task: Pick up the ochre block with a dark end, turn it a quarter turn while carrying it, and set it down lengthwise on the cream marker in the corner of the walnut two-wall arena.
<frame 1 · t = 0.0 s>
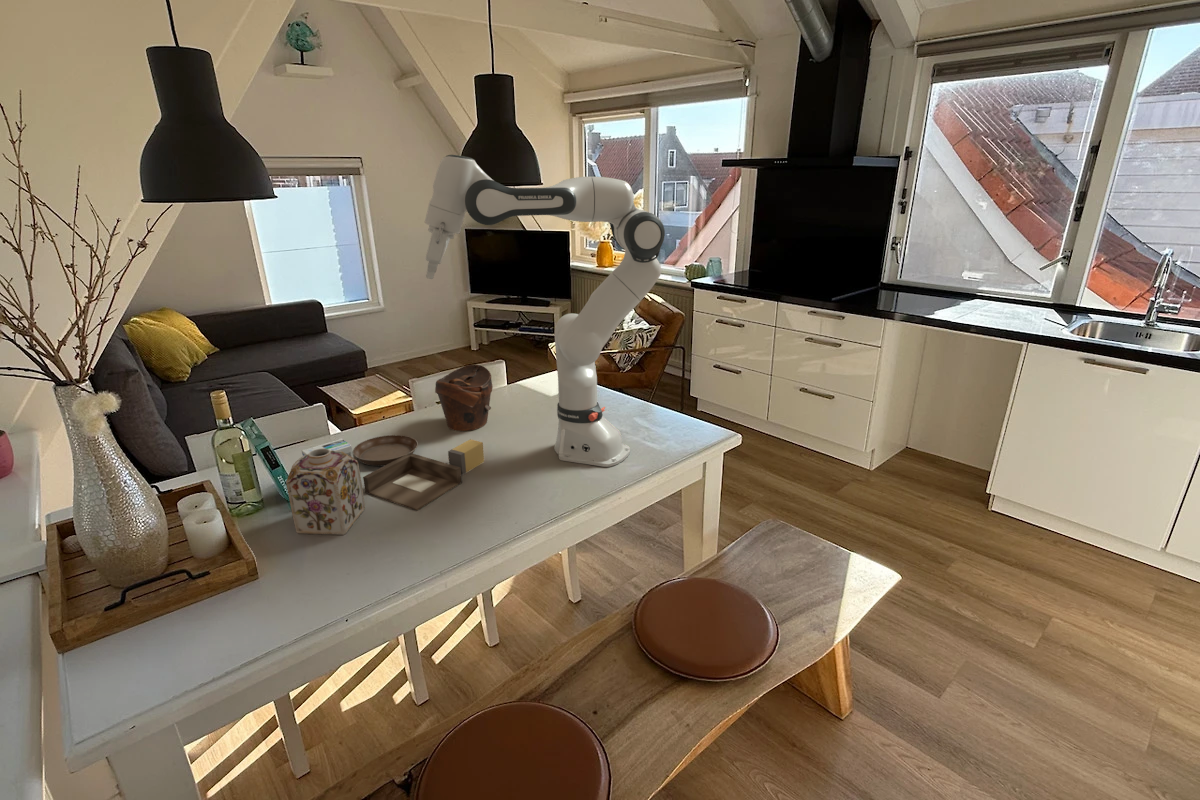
hand: (430, 275, 153), 52 cm above the table, tool tilted 20°, fingers open, 8 cm apart
light bulb box: (333, 485, 158), on the table
ochre block: (467, 466, 167), on the table
corner arena: (414, 487, 156), on the table
decorative jar: (332, 522, 141), on the table
plant saucer: (387, 456, 174), on the table
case: (467, 424, 195), on the table
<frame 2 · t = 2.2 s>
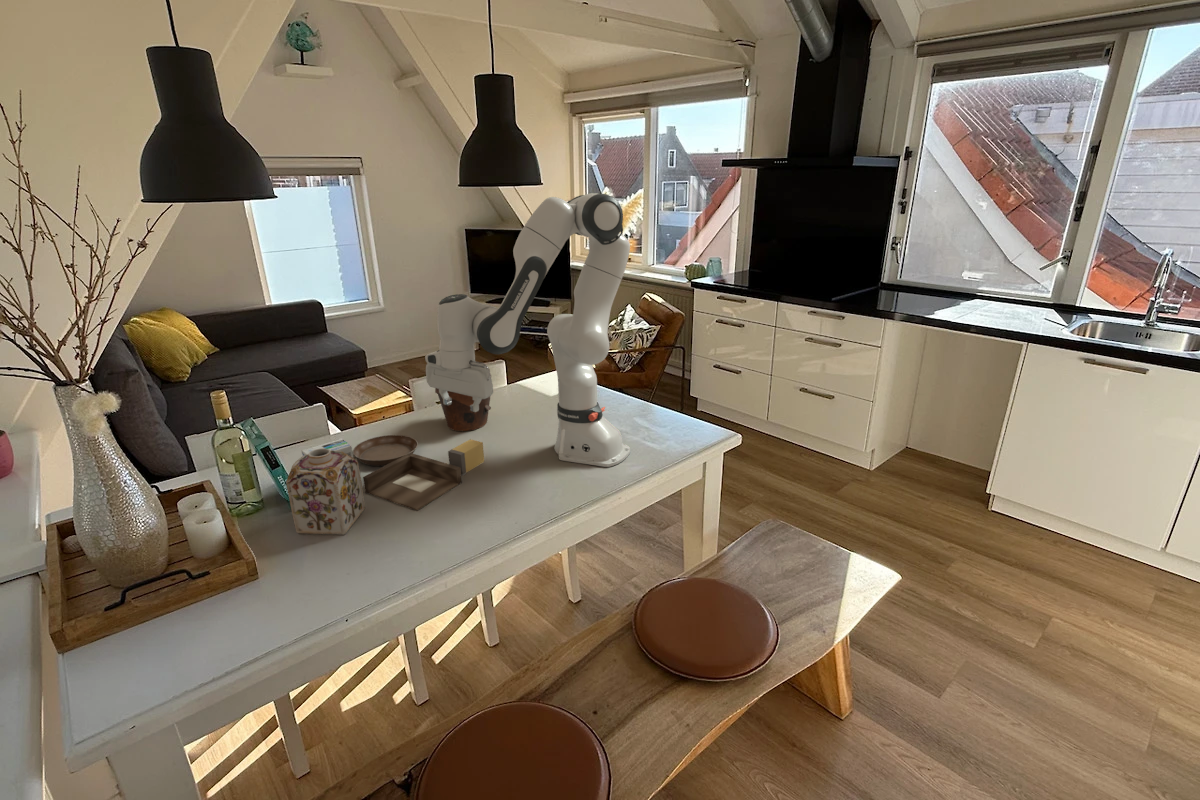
hand: (461, 407, 160), 18 cm above the table, tool pointing down, fingers open, 8 cm apart
nothing on the table moved.
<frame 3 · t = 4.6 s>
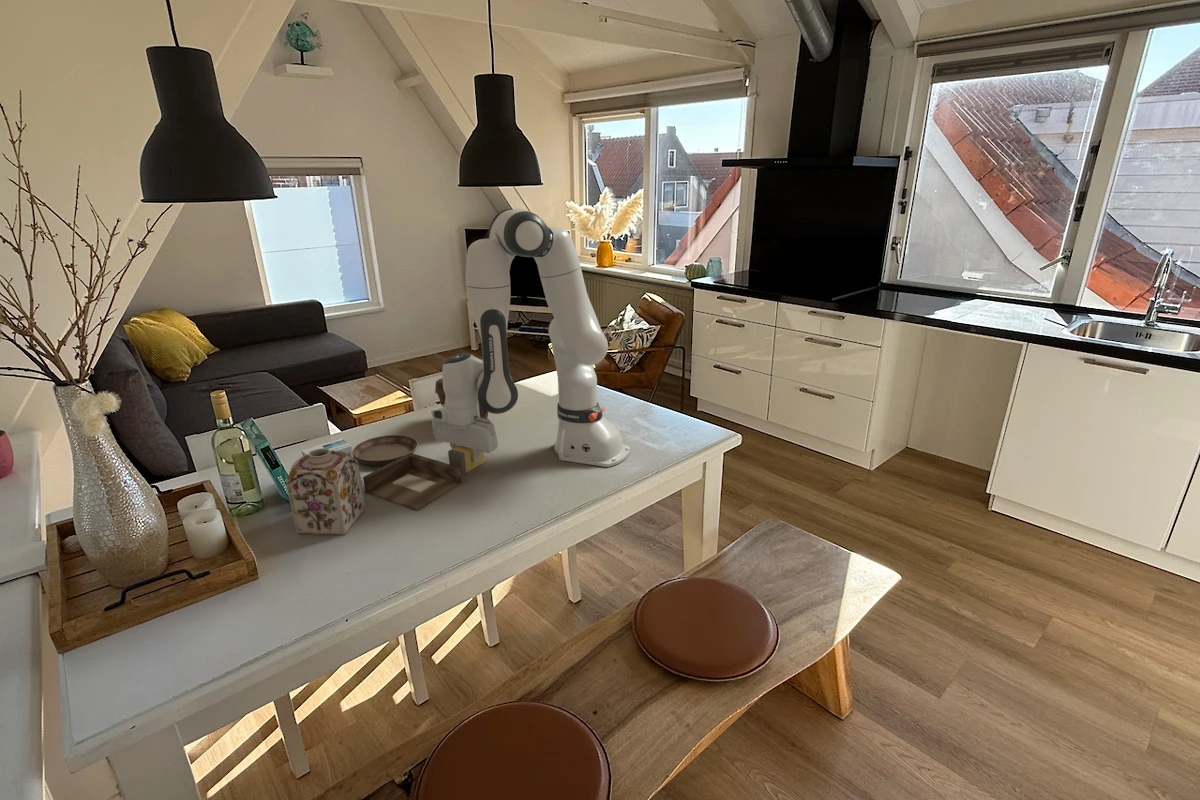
hand: (466, 459, 166), 2 cm above the table, tool pointing down, fingers closed on ochre block, 4 cm apart
ochre block: (467, 466, 167), on the table, touching gripper
everything else where it was.
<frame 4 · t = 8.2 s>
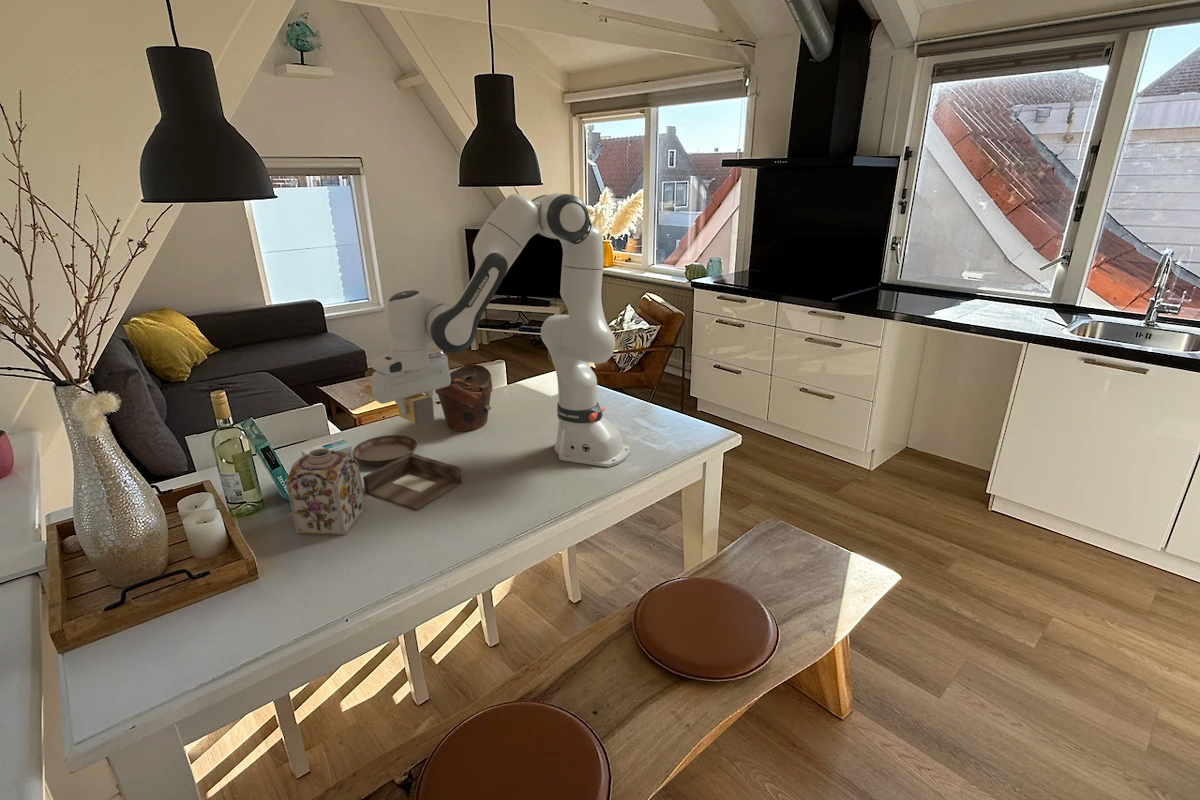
hand: (415, 410, 152), 20 cm above the table, tool pointing down, fingers closed on ochre block, 4 cm apart
ochre block: (416, 418, 153), point 18 cm above the table, touching gripper
everything else where it was.
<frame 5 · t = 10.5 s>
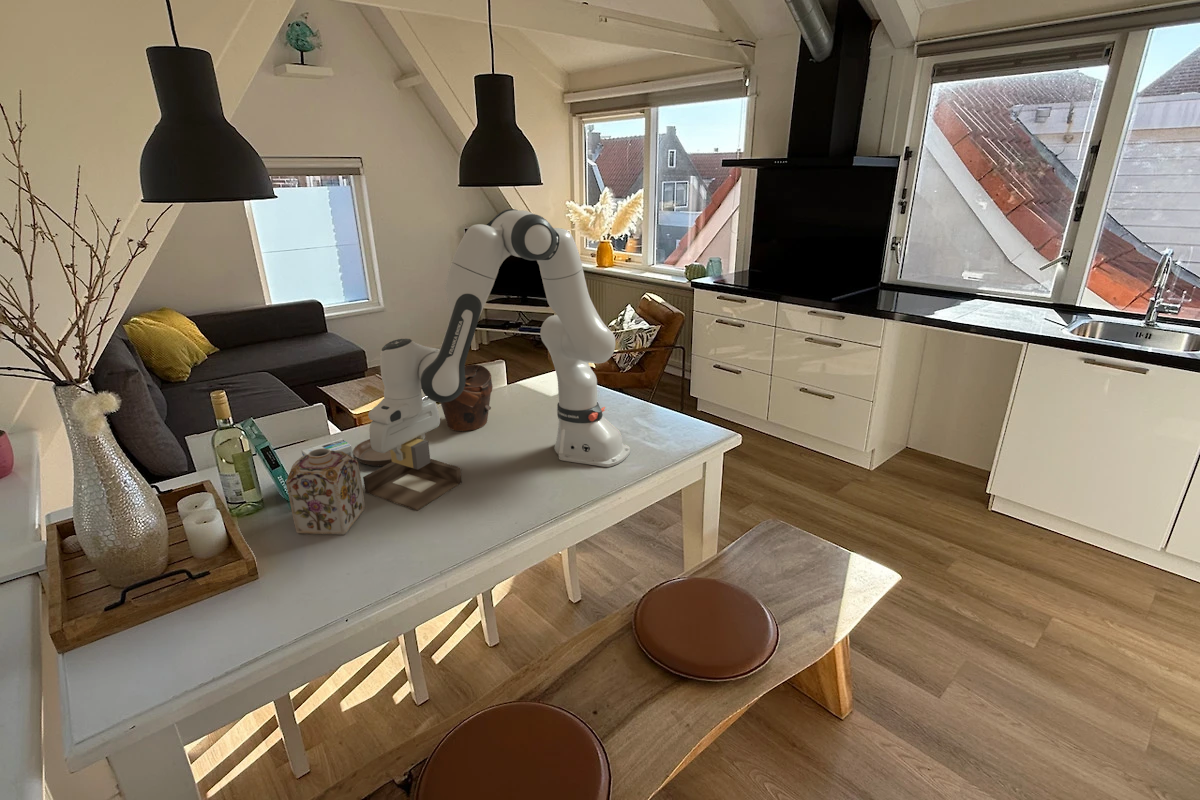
hand: (410, 454, 154), 9 cm above the table, tool pointing down, fingers closed on ochre block, 4 cm apart
ochre block: (411, 462, 154), point 7 cm above the table, touching gripper
everything else where it was.
when the fingers open (4 cm above the table, at t = 12.2 s): ochre block drops 1 cm, resting on corner arena.
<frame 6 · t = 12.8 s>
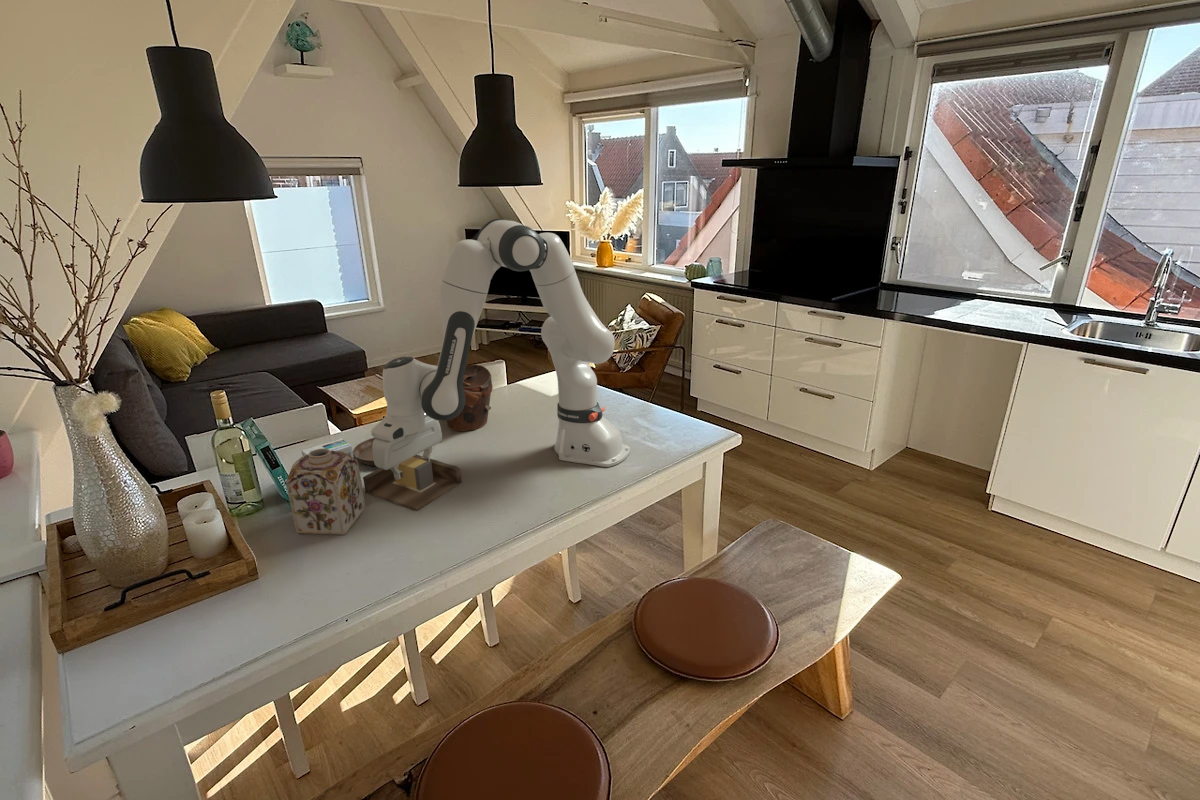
hand: (412, 470, 155), 4 cm above the table, tool pointing down, fingers open, 8 cm apart
ochre block: (414, 482, 157), point 1 cm above the table, touching corner arena
everything else where it was.
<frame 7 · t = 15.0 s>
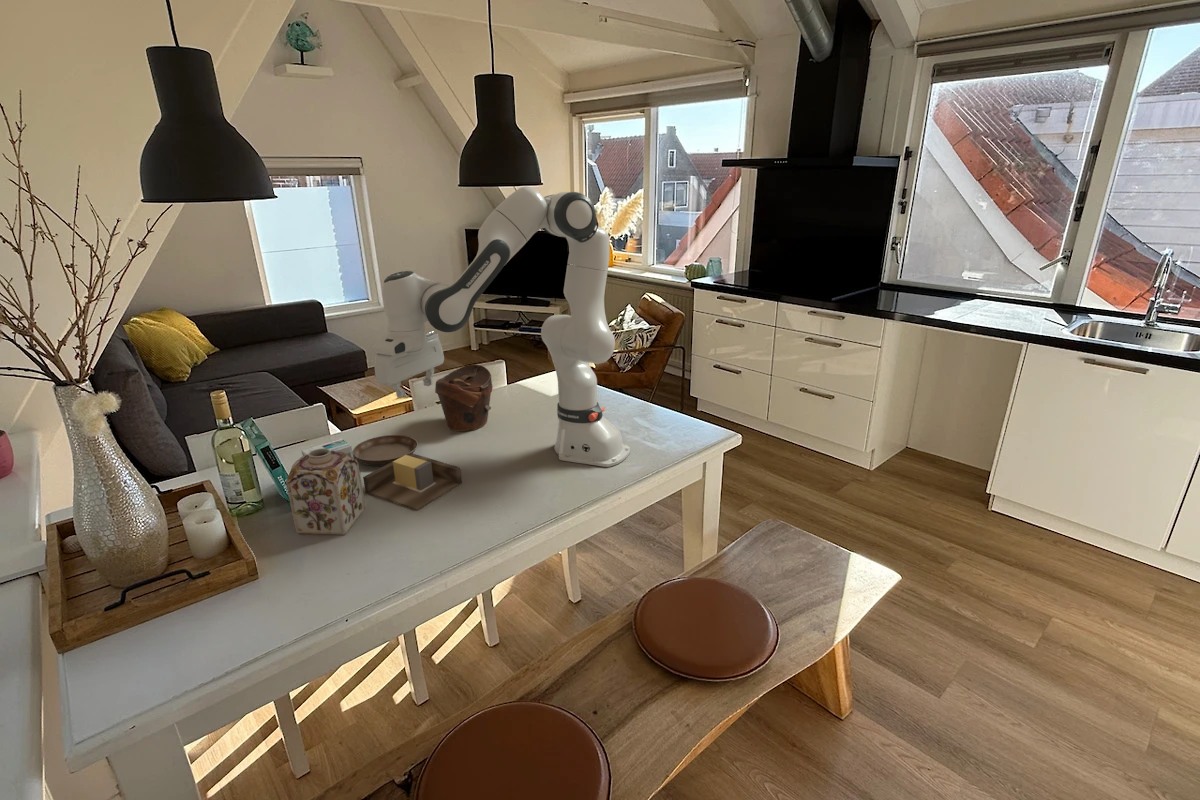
hand: (415, 391, 153), 24 cm above the table, tool pointing down, fingers open, 8 cm apart
nothing on the table moved.
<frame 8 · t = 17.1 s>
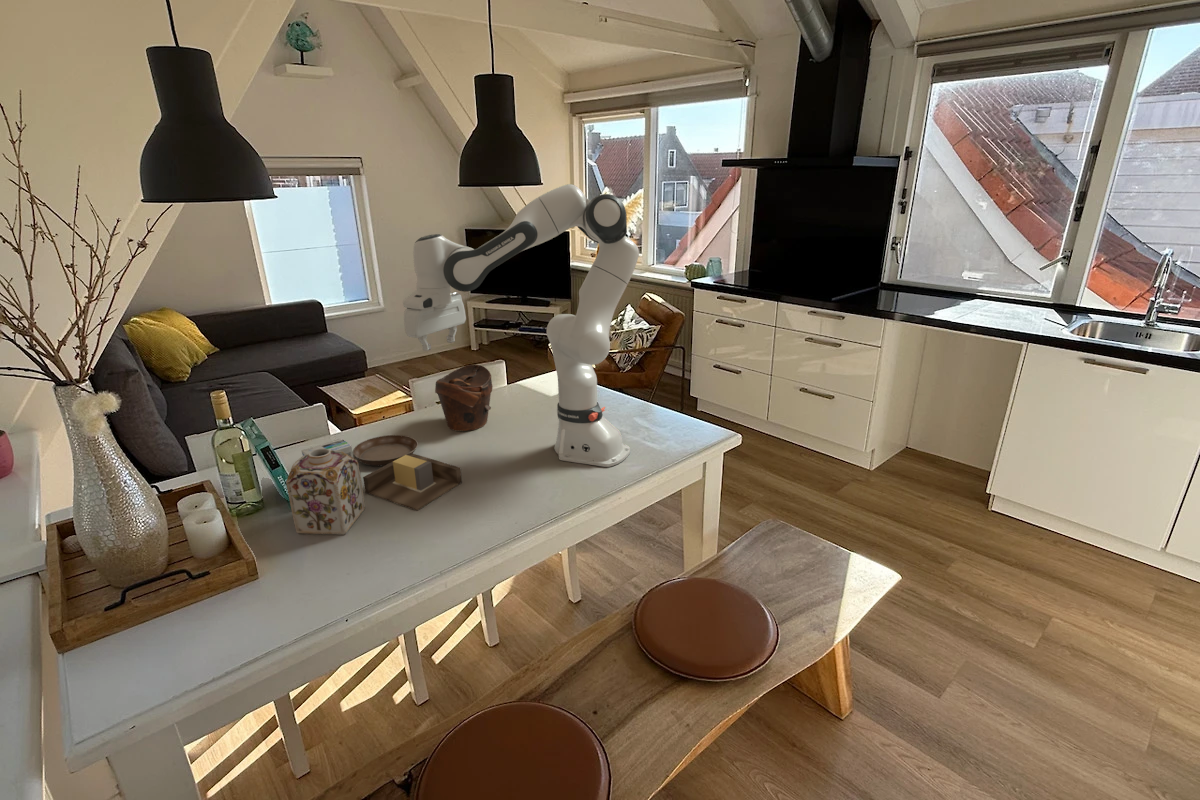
hand: (439, 346, 167), 31 cm above the table, tool pointing down, fingers open, 8 cm apart
nothing on the table moved.
at the end: ochre block 0.1 cm from the target spot on the corner arena, point 0.7 cm above the corner arena's base; ochre block tilted 0°; the gripper is holding nothing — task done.
